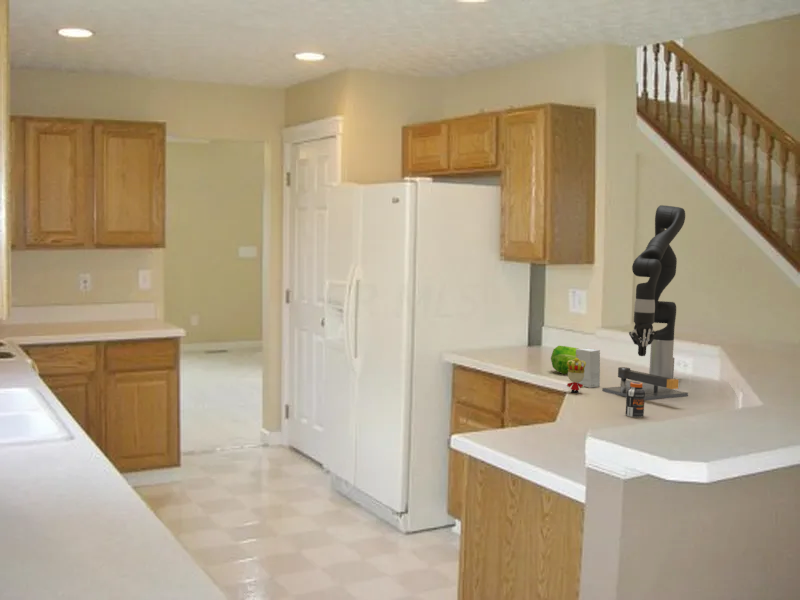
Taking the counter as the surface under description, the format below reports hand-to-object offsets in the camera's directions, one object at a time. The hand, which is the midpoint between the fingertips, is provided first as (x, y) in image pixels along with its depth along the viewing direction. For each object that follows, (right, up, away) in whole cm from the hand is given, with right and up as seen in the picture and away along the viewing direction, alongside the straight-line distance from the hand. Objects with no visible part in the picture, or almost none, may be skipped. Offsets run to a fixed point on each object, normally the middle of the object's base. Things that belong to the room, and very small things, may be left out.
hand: (641, 355), depth 339 cm
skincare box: (-18, -13, +15) cm, 27 cm away
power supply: (-1, -14, 0) cm, 14 cm away
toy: (-26, -14, -1) cm, 30 cm away
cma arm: (-2, -9, -14) cm, 17 cm away
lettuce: (-18, -11, +44) cm, 49 cm away
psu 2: (+6, -13, +5) cm, 16 cm away
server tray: (+2, -15, +2) cm, 15 cm away
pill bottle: (-14, -18, -40) cm, 46 cm away
